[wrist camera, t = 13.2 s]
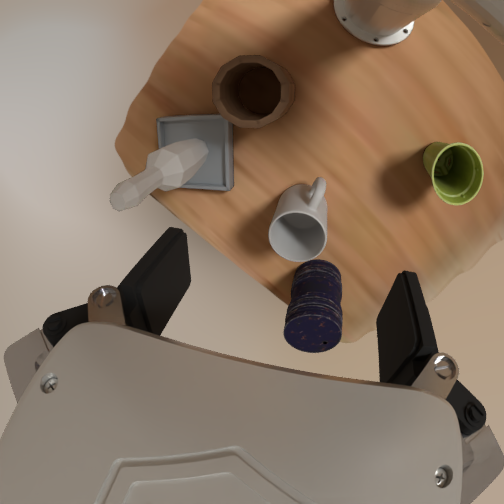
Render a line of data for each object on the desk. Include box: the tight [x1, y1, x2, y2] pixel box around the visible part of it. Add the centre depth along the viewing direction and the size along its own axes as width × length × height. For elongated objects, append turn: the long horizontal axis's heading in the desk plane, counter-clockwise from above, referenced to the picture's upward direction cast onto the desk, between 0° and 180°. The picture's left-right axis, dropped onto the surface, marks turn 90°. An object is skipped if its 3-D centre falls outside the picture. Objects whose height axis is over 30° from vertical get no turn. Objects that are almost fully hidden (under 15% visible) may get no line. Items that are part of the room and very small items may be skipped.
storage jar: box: [284, 260, 342, 353], centre depth 50 cm, size 10×10×15 cm
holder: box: [212, 55, 295, 128], centre depth 35 cm, size 10×10×9 cm
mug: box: [268, 177, 327, 262], centre depth 43 cm, size 12×8×11 cm
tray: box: [156, 114, 234, 191], centre depth 46 cm, size 13×13×2 cm
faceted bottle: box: [110, 138, 209, 211], centre depth 37 cm, size 6×6×22 cm
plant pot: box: [423, 142, 483, 205], centre depth 33 cm, size 9×9×9 cm
